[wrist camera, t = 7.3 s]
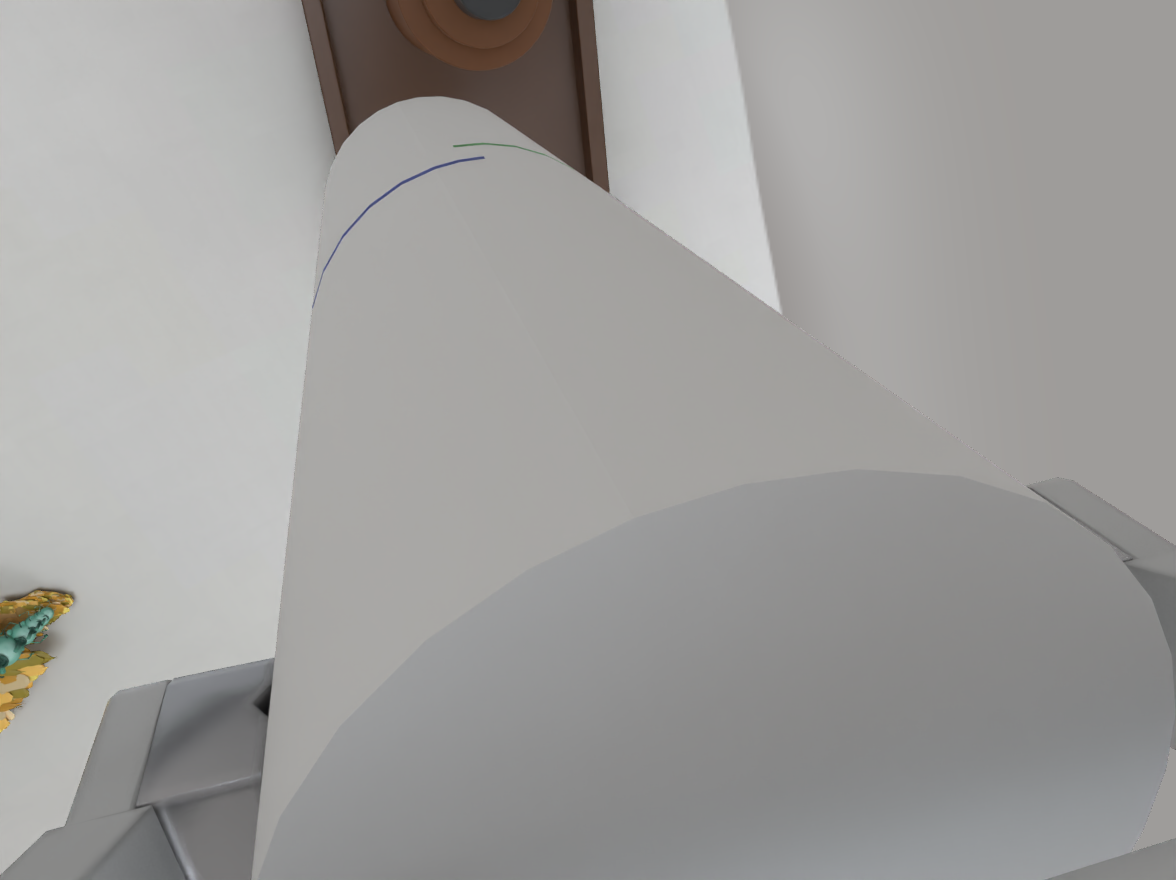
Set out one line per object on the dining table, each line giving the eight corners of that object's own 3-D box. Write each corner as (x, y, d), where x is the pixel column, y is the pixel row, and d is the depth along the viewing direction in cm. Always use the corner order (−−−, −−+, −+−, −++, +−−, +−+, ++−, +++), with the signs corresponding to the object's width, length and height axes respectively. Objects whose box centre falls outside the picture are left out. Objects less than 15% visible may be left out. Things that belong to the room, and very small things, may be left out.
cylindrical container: (283, 141, 26) (-2, 769, 5) (508, 63, 27) (1198, 294, 5) (377, 352, 30) (468, 1284, 8) (575, 279, 30) (1160, 964, 9)
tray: (230, -330, 34) (223, -348, 32) (550, -345, 36) (561, -363, 34) (367, 289, 45) (367, 300, 43) (605, 249, 47) (615, 259, 46)
